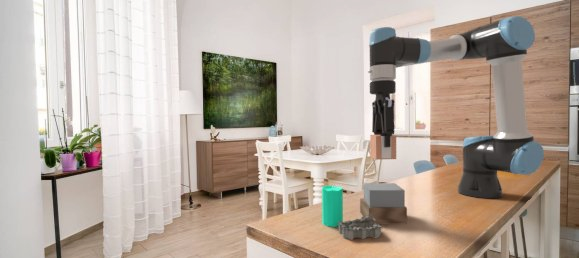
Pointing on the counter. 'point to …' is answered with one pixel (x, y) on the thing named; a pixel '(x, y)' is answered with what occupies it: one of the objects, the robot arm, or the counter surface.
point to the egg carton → (360, 228)
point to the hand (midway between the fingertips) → (382, 156)
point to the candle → (332, 205)
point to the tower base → (384, 213)
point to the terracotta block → (376, 147)
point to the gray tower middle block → (384, 195)
